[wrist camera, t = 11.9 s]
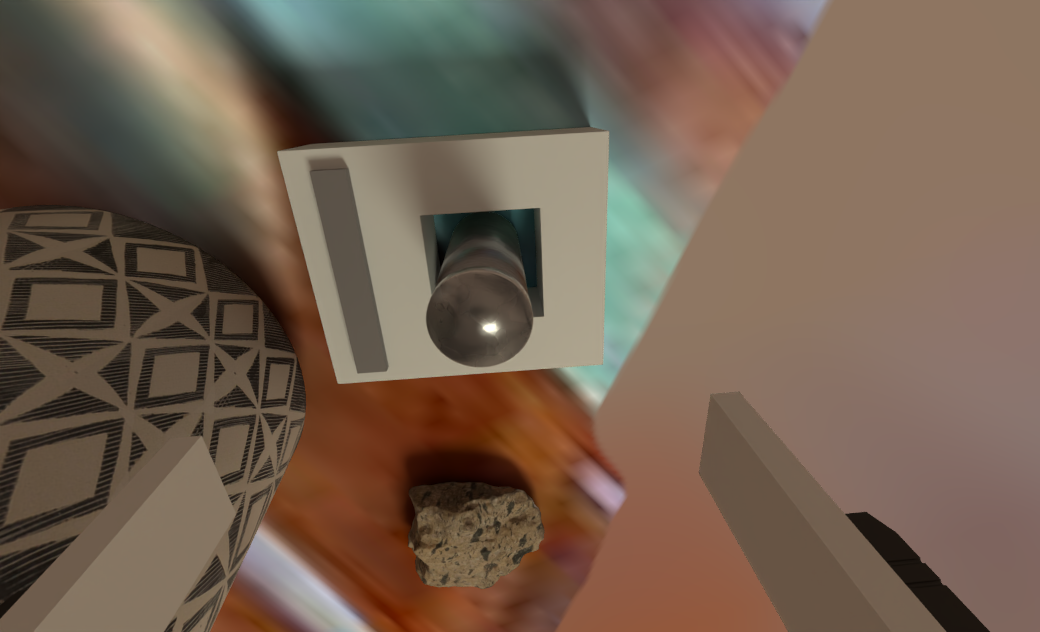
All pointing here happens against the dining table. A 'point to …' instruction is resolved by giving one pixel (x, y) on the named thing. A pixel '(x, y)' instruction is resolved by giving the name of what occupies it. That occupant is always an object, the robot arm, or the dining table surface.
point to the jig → (414, 251)
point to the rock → (471, 532)
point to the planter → (131, 385)
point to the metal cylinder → (481, 294)
